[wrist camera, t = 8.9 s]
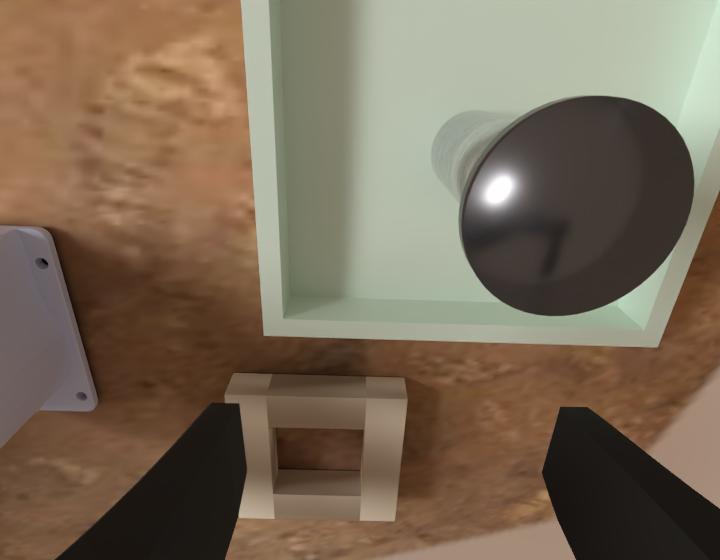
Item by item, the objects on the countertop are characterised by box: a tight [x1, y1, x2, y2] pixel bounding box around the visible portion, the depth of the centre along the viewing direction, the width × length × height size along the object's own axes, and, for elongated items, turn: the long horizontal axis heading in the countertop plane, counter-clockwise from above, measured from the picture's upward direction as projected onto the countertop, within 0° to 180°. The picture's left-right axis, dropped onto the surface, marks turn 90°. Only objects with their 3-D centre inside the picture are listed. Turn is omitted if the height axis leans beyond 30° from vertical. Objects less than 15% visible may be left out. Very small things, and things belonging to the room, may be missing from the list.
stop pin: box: [431, 95, 694, 316], centre depth 12 cm, size 4×4×8 cm
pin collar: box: [224, 373, 408, 521], centre depth 22 cm, size 8×8×2 cm
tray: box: [241, 0, 720, 347], centre depth 15 cm, size 16×16×2 cm
